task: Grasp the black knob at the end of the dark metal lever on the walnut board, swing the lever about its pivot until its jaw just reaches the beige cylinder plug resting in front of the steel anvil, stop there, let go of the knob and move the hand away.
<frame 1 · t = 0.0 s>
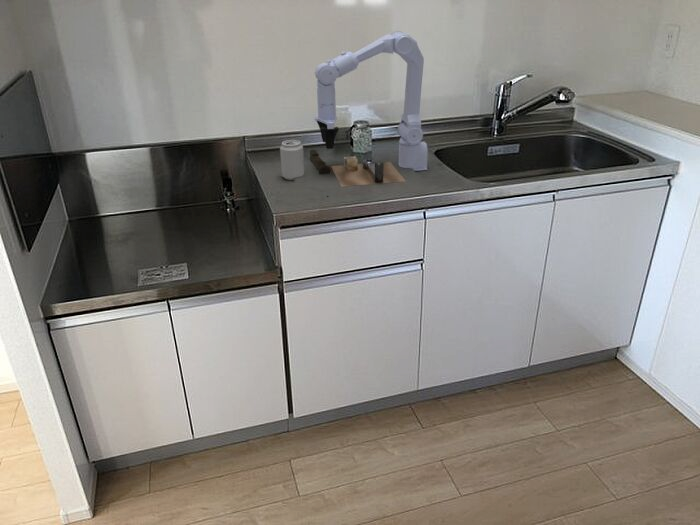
hand: (327, 145, 191), 10 cm above the worktop, tool pointing down, fingers open, 7 cm apart
board: (367, 176, 193), on the worktop
hand tool: (316, 169, 201), on the worktop
can: (293, 177, 194), on the worktop
lever: (373, 164, 190), point 4 cm above the worktop, hinge at 0.0°
beige cylinder plug: (352, 169, 196), point 1 cm above the worktop, touching board
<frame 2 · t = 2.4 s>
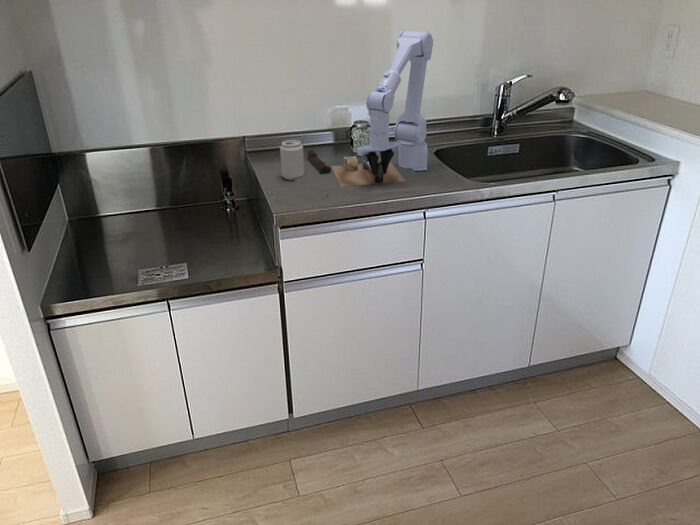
hand: (379, 173, 184), 4 cm above the worktop, tool pointing down, fingers closed on lever, 3 cm apart
lever: (373, 164, 190), point 4 cm above the worktop, hinge at 0.0°, touching gripper
everything else where it was.
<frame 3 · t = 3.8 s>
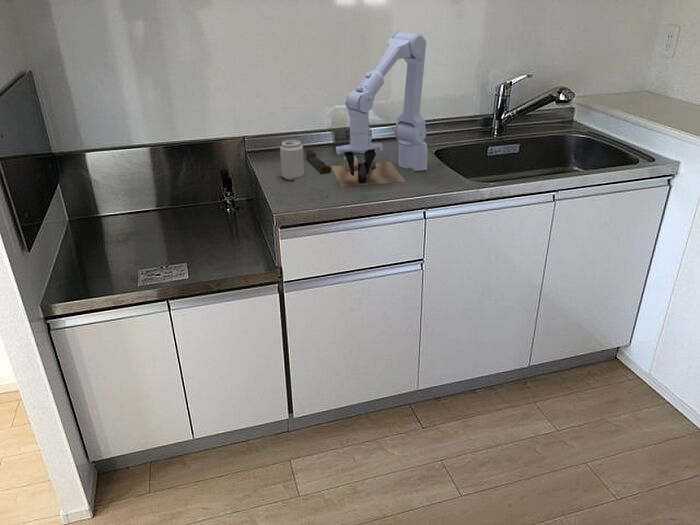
hand: (359, 173, 184), 4 cm above the worktop, tool pointing down, fingers open, 4 cm apart
lever: (366, 164, 190), point 4 cm above the worktop, hinge at 22.0°, touching gripper
everything else where it was.
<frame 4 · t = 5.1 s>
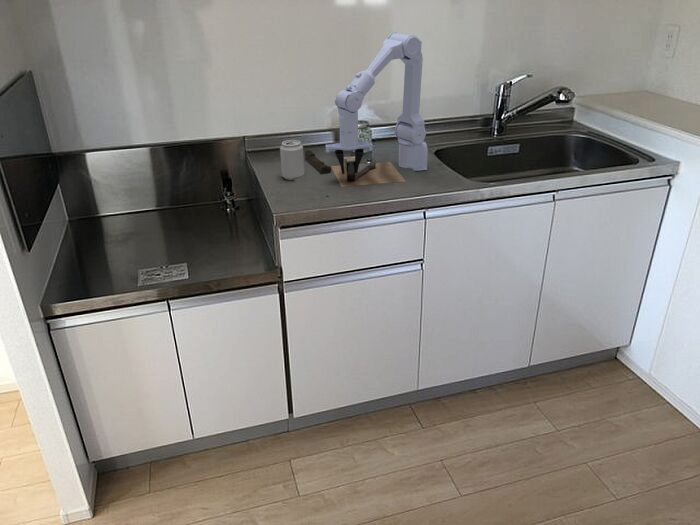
hand: (349, 172, 185), 4 cm above the worktop, tool pointing down, fingers open, 4 cm apart
lever: (360, 164, 190), point 4 cm above the worktop, hinge at 37.5°, touching gripper
everything else where it was.
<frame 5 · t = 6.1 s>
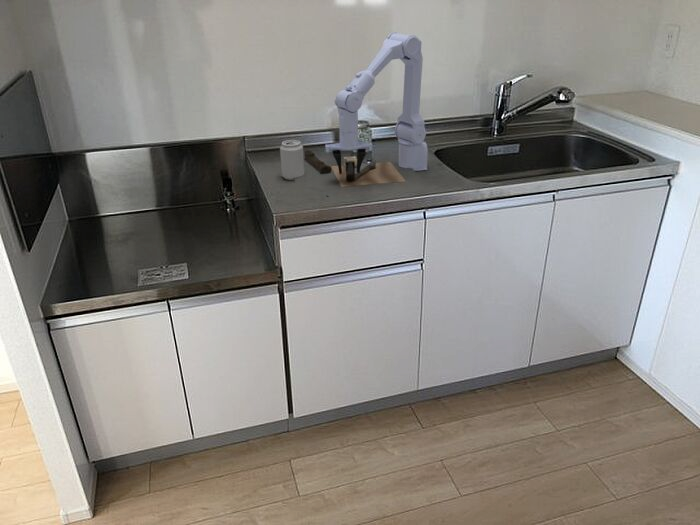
hand: (349, 172, 185), 4 cm above the worktop, tool pointing down, fingers open, 5 cm apart
lever: (360, 164, 190), point 4 cm above the worktop, hinge at 38.4°
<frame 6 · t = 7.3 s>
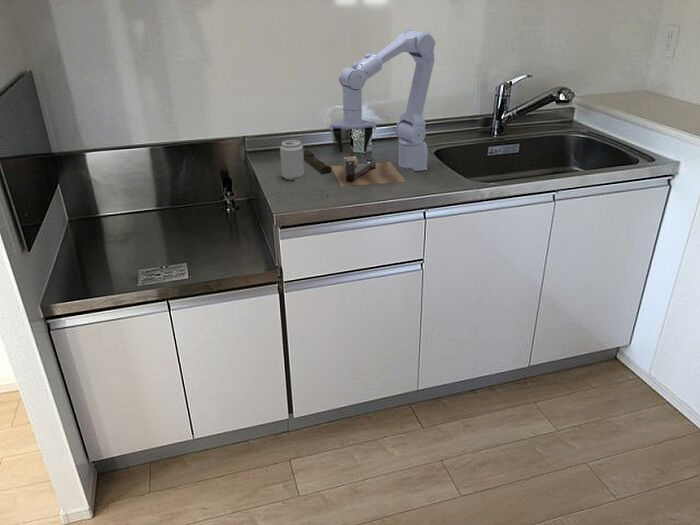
hand: (353, 151, 185), 10 cm above the worktop, tool pointing down, fingers open, 7 cm apart
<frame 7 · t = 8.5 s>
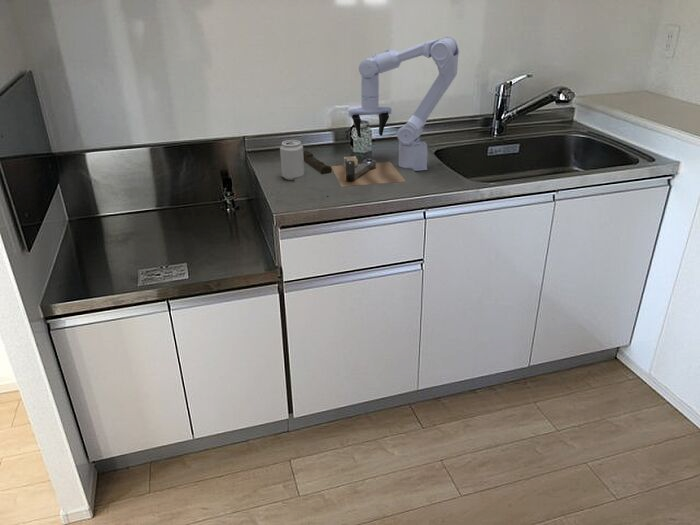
hand: (369, 135, 200), 10 cm above the worktop, tool pointing down, fingers open, 7 cm apart
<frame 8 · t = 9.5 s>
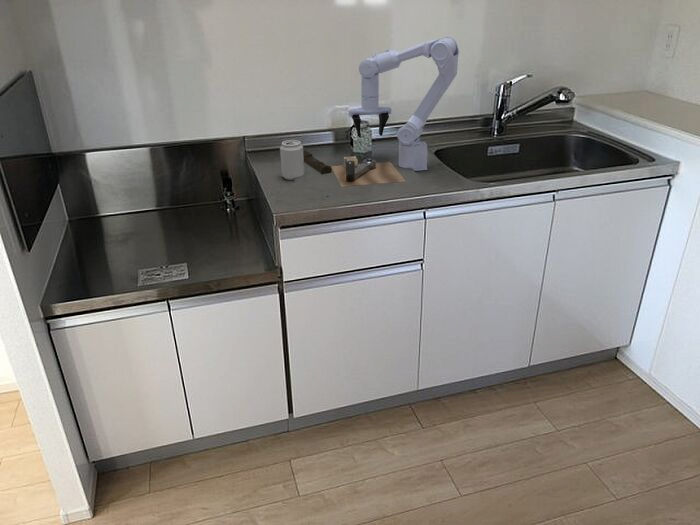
hand: (369, 135, 200), 10 cm above the worktop, tool pointing down, fingers open, 7 cm apart
at the end: lever at +38° (first picture: +0°); beige cylinder plug moved 0.0 cm from its start; the gripper is holding nothing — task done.
